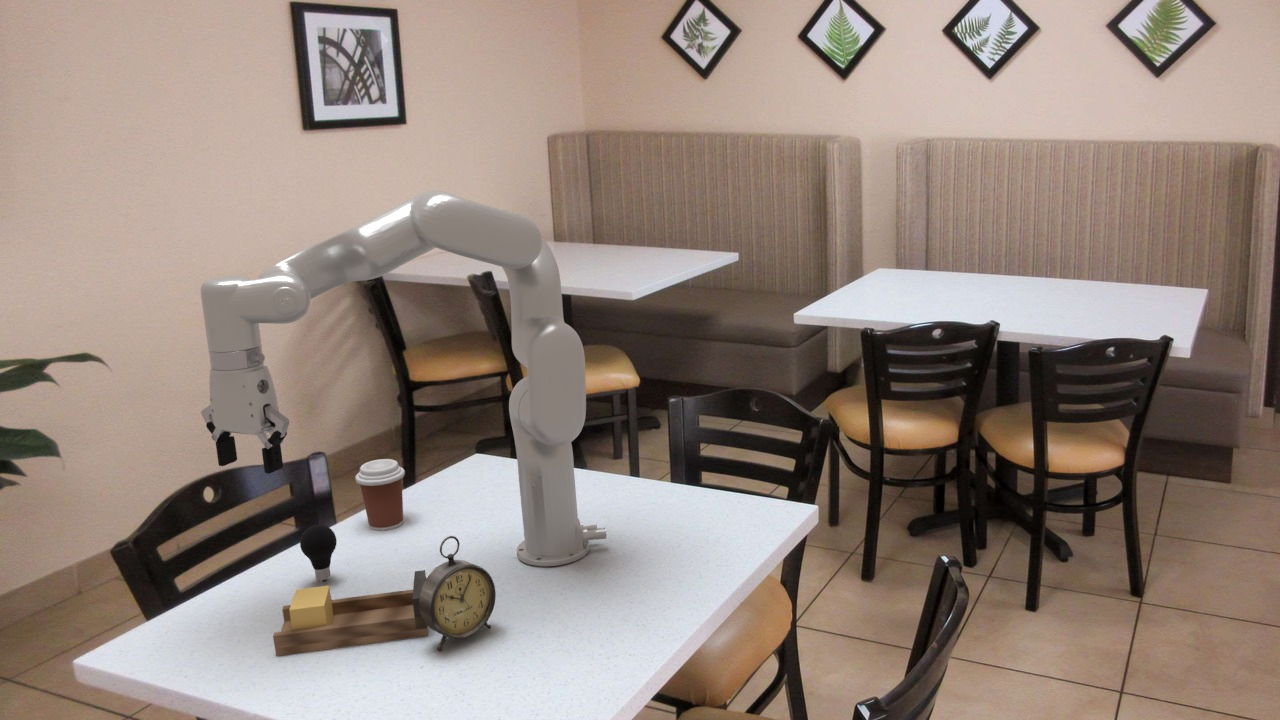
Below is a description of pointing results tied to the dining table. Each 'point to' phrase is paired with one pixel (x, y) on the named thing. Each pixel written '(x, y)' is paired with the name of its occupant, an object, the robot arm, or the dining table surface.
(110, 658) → the dining table surface
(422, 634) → the wooden tray
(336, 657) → the dining table surface
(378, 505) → the coffee cup
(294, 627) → the block
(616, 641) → the dining table surface
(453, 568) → the alarm clock
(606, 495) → the dining table surface
